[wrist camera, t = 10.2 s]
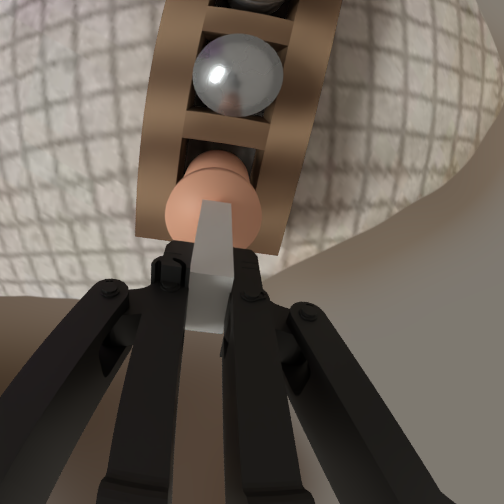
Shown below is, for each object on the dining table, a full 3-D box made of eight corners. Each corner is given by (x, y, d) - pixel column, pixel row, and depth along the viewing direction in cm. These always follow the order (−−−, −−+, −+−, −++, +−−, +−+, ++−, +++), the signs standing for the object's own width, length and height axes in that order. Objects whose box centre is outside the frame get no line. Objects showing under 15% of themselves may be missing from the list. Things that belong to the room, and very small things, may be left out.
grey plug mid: (208, 42, 20) (201, 27, 14) (275, 53, 21) (291, 43, 15) (196, 103, 23) (185, 110, 17) (261, 114, 24) (273, 124, 18)
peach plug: (186, 141, 21) (169, 164, 15) (259, 152, 22) (271, 180, 16) (177, 208, 24) (162, 253, 18) (245, 217, 25) (251, 265, 19)
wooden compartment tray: (198, -60, 15) (193, -84, 11) (332, -34, 17) (352, -52, 13) (148, 211, 28) (135, 236, 24) (270, 228, 30) (277, 255, 26)
